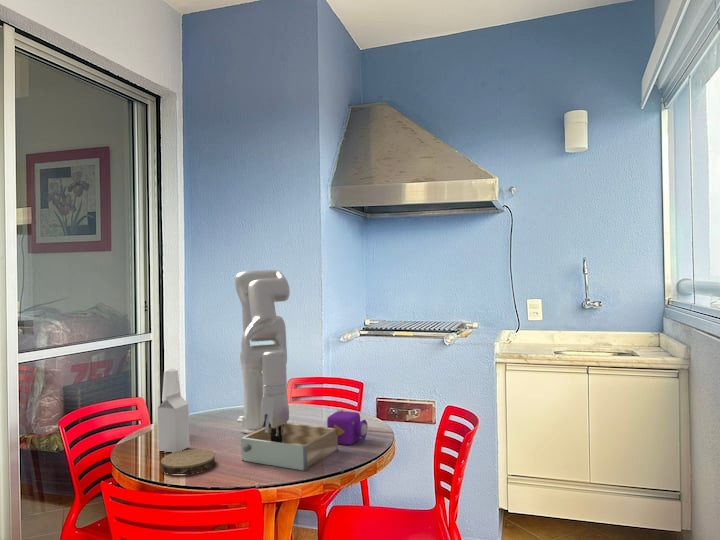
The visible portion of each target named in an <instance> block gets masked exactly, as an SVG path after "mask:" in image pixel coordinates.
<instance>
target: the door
mask: <svg viewBox="0 0 720 540" xmlns="http://www.w3.org/2000/svg"><path fill="white" fill-rule="evenodd" d="M242 437H243V438H242ZM242 437H241V438H240V444H241V445H240V446H241V451H240V452H241V461H242V460H244V461H243V462H250V463H255V464H260V465H261V464H263V465H268V466H275V467H278V468H279V467H280V468H286V469H291V470H296V471H297V470H299V471H303V472H306V471H307V472H308V469H307V446H301V445H294V444H287V443H280V442H273V441H266V440H258V439H251V438H244V436H242Z"/></svg>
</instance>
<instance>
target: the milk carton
mask: <svg viewBox="0 0 720 540" xmlns="http://www.w3.org/2000/svg"><path fill="white" fill-rule="evenodd" d="M180 392H181V391H180ZM180 392H176V393H174V394H171V395H168V396H166V398H165V399H164V402H162V403H161V404H160V405H159V406H158V407H157V427H158V428H157V429H158V430H157V433H158V434H157V435H158V452H159V451H165V452H164V453H166V452H173V453H174V452H178V451H181V450H184V449H185V450H187V449H188V448H190V420H189V419H190V417H189V403H188V401H186V399H185V398H184V397H183V396H182V394H181V395H180ZM186 448H187V449H186Z"/></svg>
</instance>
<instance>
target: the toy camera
mask: <svg viewBox="0 0 720 540" xmlns="http://www.w3.org/2000/svg"><path fill="white" fill-rule="evenodd" d="M326 426H327V428H335V429H337V431H338V445H347V446H348V445H352V444H354V443H355V442H357V441H358V440H359V439H362V440H364V439H366V437H367V434H368V422H367V420H366V419H362V420H361V415H360V413H359V412H357V411H345V410H343V409H338V410H337V411H335V412H333V413H332V414H331V415H329V416H328V417H327V420H326Z"/></svg>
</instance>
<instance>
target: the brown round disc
mask: <svg viewBox="0 0 720 540" xmlns="http://www.w3.org/2000/svg"><path fill="white" fill-rule="evenodd" d="M215 458H216V457H215V452H214V451H212V450H209V449H206V448H205V449H204V448H193V449H192V448H191V449H185V450H183V451H178V452H174V453H169V454H166V455H164V457H163V458H161V461H160V470H161V469H162V471H163V472H165V473H168V474H192V473H196V474H198V473H197V472H201V471H203V472H205V471H204V470H206V471H208V470H210V469H212V468H213V467H214V466H215V465H214V464H216V462H215V461H216V460H215ZM213 465H214V466H213ZM212 466H213V467H212ZM211 467H212V468H211ZM209 468H210V469H209ZM207 469H208V470H207ZM162 471H161V472H162ZM163 472H162V473H163ZM201 473H202V472H201ZM192 475H193V474H192Z"/></svg>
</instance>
